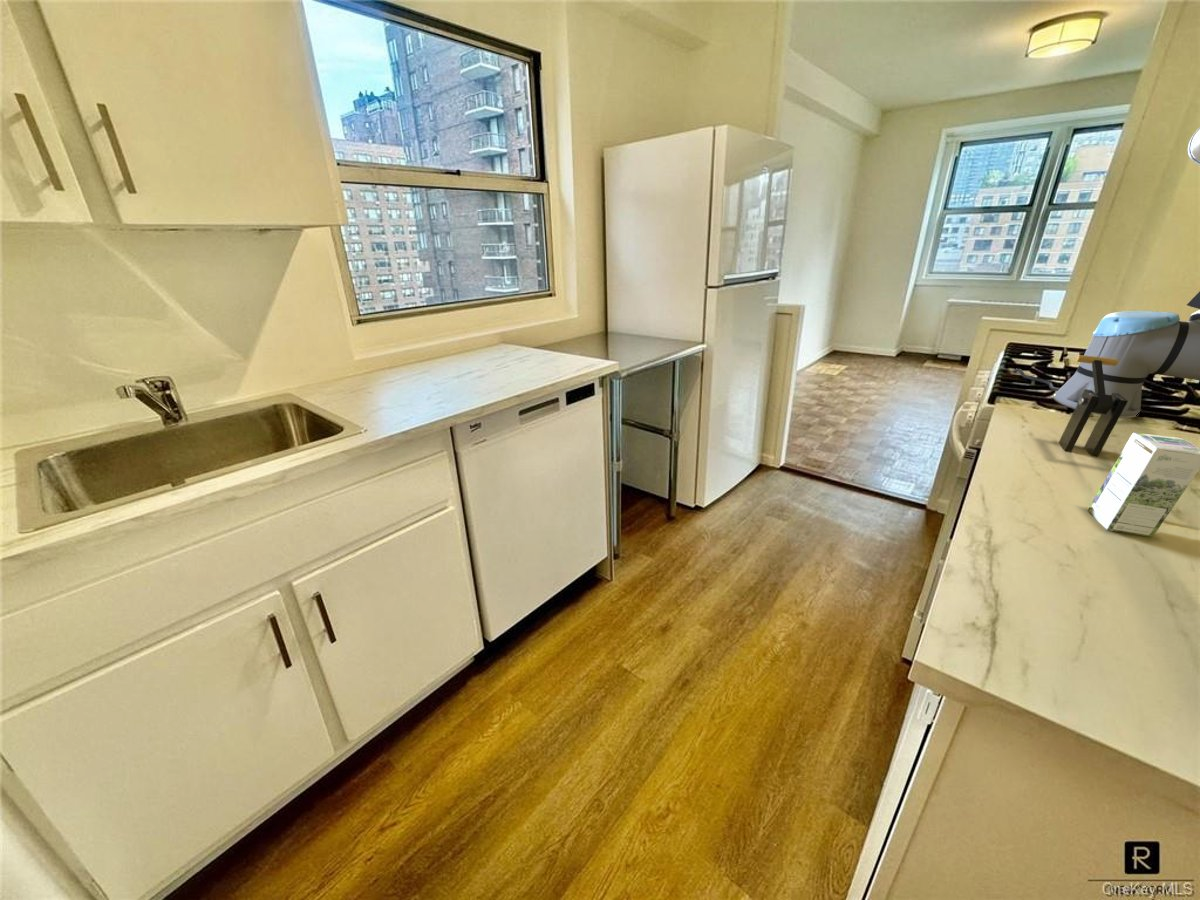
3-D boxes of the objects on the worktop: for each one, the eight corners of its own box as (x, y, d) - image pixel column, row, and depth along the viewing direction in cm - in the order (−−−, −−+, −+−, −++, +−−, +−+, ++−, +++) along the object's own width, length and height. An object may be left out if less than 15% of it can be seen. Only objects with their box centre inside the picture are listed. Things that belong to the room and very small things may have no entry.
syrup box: (1130, 517, 77) (1181, 435, 70) (1154, 539, 72) (1211, 453, 65) (1086, 510, 79) (1131, 430, 72) (1106, 531, 74) (1157, 447, 67)
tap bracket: (1040, 440, 102) (1067, 383, 96) (1095, 450, 98) (1127, 390, 92) (1052, 460, 94) (1083, 399, 88) (1113, 471, 90) (1149, 408, 84)
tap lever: (1073, 360, 99) (1080, 351, 97) (1112, 364, 97) (1119, 355, 95) (1077, 410, 92) (1084, 401, 91) (1119, 416, 90) (1127, 407, 88)
